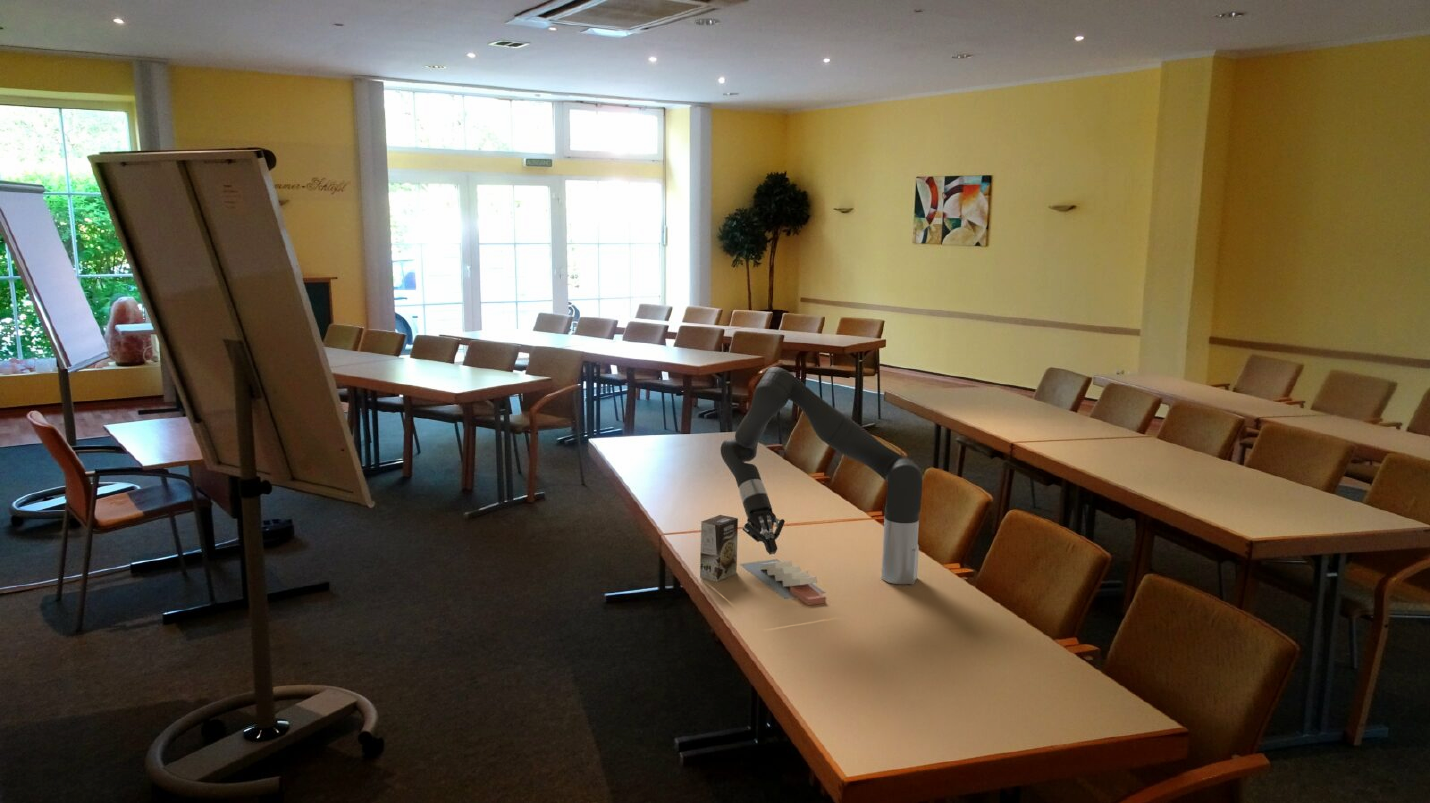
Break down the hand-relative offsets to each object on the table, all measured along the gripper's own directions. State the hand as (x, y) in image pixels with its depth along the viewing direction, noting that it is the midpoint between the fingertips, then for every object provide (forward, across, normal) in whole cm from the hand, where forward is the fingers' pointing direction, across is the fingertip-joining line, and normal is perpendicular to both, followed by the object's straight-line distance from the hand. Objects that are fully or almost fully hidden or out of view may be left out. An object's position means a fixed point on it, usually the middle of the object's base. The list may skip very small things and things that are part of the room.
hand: (773, 552), depth 265 cm
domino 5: (+14, 0, +7) cm, 16 cm away
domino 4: (+11, 0, +4) cm, 12 cm away
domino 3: (+8, 0, +1) cm, 8 cm away
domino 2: (+5, 0, -2) cm, 5 cm away
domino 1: (+1, 0, -6) cm, 6 cm away
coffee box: (+2, +15, -7) cm, 16 cm away
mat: (+8, 0, -1) cm, 8 cm away
